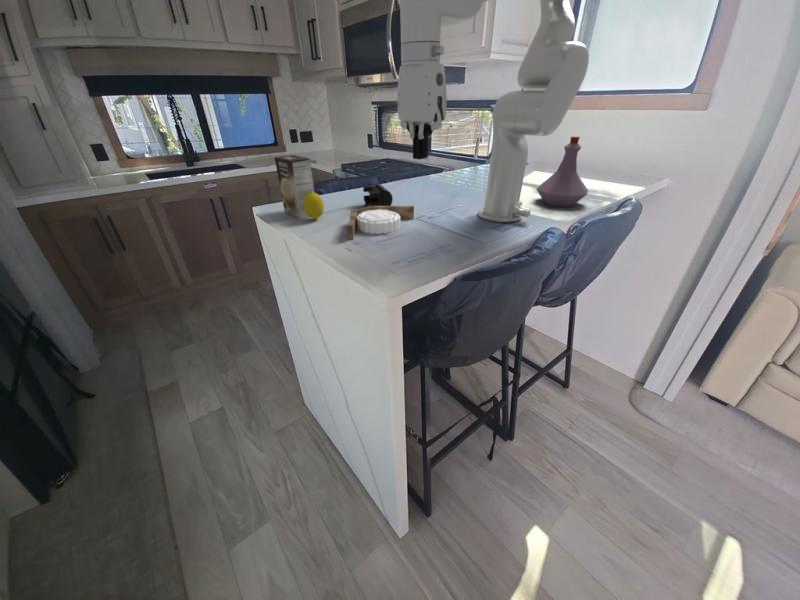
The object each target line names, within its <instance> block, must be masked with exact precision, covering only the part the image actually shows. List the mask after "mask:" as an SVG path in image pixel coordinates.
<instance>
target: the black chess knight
mask: <svg viewBox="0 0 800 600" xmlns="http://www.w3.org/2000/svg"><path fill="white" fill-rule="evenodd" d="M362 189H363V192H364V193H368V194H369V195H363V201H364V206H365V207H368V206H392V204H393V200H394V199H393V194H392V193H391V192H390V191H389V190H388V189H387V188H385V187H384V186H383V185H382V184H380V183H379V182H375V183H374V185H373V184H372V185H364V186H362Z"/></svg>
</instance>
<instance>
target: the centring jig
mask: <svg viewBox="0 0 800 600" xmlns="http://www.w3.org/2000/svg"><path fill="white" fill-rule="evenodd" d="M378 209H382V210H389V211H392V212H396V213H397V214H399V216H400V220H414V217H415V216H414V215H415V214H414V213H415V206H414V205H391V206H368V207H366V206H365V207H361V208H357V209H354V210H351V211H350V212H351V215H350V217H349V220H348V223H347V236H348V237H347V238H348V240H354V238H355V235H356V231H357V229H358V228H357V219H356V217H357V216H358V214H361V213H362V212H365V211H367V210H378Z"/></svg>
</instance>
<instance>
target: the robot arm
mask: <svg viewBox="0 0 800 600" xmlns="http://www.w3.org/2000/svg"><path fill="white" fill-rule="evenodd" d="M488 1H490V0H399V10H400V13H399V15H400V18H399V19H400V60H401V61H400V62H401V63H400V66H399V70H398V71H399V72H398V79H397V80H398V82H397V115H398V120H400V127H401V128H403V129H405V130H407V131H408V132H409V137H410V139H412V158H413V160H423V159H427V158H428V152H429V150H428V149H429V139H430V138H431V135H432V133H433V132H434V131H437V130H440V129H441V130H442V127H443V123H442V122H443V121H445V120H446V118H447V105H448V104H447V82H446V81H447V80H446V73H445V72H446V71H445V66H444V63H441V56H443V55H444V53H445V47H444V46H443V45H442V43H441V41H442V40H441V39H442V37H441V36H442V27H447V26H453V25H457V24H461V23H466V22H468V21H470V20H472V18H475V16H476V15H478V13H479V11H480V10H481V8H482V5H483V3H484V2H488ZM539 5H540V21H539V25H538V28H537V30H536V32H535V35H534V36H533V39H532V41H531V42H530V45H529V47H528V49H527V51H526V53H525V56H524V58H523V60H522V62H521V64H520V66H519V69H518V72H517V76H516V77H517V79H516V80H517V84H518V86H519V87H520V88H521V89H522V90H513V91H509V92H506V93H504V94H503V95H501V96H500V97H499V98H498V99H497V101H496V102H495V104H494V108H493V110H492V146H491V157H490V162H489V163H490V164H489V170H488V177H487V185H486V192H485V193H486V194H485V200H484V206H483V207H481V208H480V209H479V210H478V212H477V213H478V214H477V215H478V216H479V218H480V219H483V220H486V221H489V222H490V221H491V222H495V223H515V222H517V221H520V220H521V219H522V217H524V218H529V217H531V209H530V208H527V207H524V206H522V205H523V202H522V201H520V198H521V195H522V194H521V193H522V188H523V183H524V176H525V173H526V166H527V163H528V162H527V161H528V156H529V147H528V145H529V144H528V142H527V141H528V140H527V138H526V136H534V137H547V136H550V135H552V134H553V133H554V132H555V131H557V129H558V128H559V126H560V125H561V123H562V122H563V121H564V118H565V117H566V114H567V113H568V110H569V108H571V105H572V103H573V101H574V99H575V98H576V96H577V93H578V91H579V90H580V88H581V87H582V86H581V85H582V83H583V82H584V80H585V78H586V74H587V71H588V68H589V67H588V66H589V60H590V59H589V58H590V54H589V50H588V47H587V46H586V45H585V44H584V43H582V42H580V41H572V38H573V37H574V34H575V31H576V20H575V15H574V13H573V11H572V8H571V4H570V0H539Z"/></svg>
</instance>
